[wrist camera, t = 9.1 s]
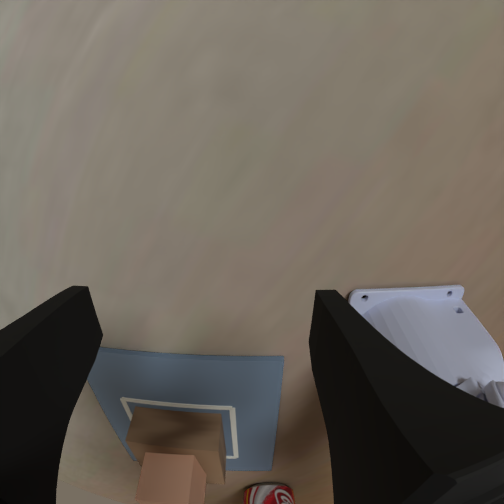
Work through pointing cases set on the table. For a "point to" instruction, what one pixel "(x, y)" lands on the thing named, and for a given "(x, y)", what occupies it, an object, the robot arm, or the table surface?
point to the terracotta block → (171, 480)
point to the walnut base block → (180, 438)
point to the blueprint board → (196, 395)
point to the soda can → (269, 494)
